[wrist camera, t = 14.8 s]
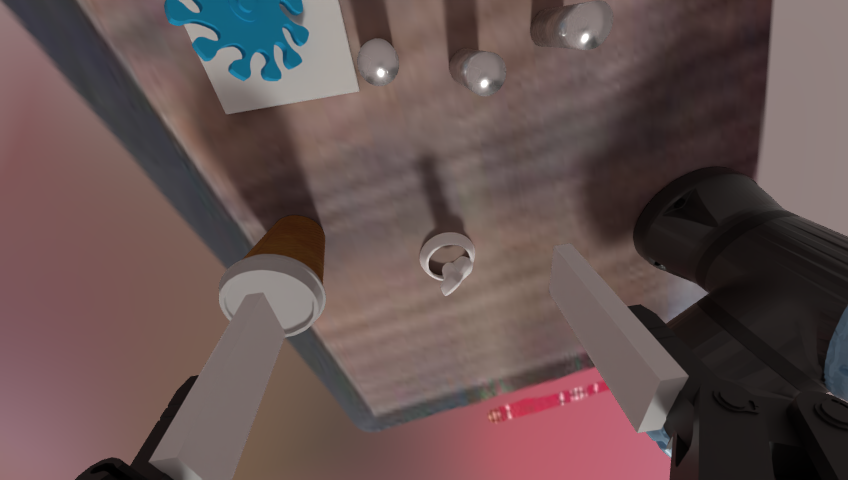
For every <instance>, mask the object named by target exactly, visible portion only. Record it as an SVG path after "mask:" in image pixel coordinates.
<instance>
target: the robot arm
mask: <svg viewBox="0 0 848 480" xmlns="http://www.w3.org/2000/svg"><path fill="white" fill-rule="evenodd" d="M634 245H635V248H636V250H637V252H638V253H639V254H640V256H642V257H643V258H644V259H645V260H646V261H648V262H649V263H650V264H651V265H653V266H654V267H656V268H658V269H661V270H664V271H666V272H668V273H671V274H673V275H676V276H678V277H681V278H684V279H686V280H689V281H691V282H694V283H696V284H698V285H699V286H700V287H702V288H703V289H704V290H705V291H707V292H708V293H709V294H707V295H706V296H705V297H703V298H702V299H700V300H699V301H698V302H696V303H694V304H693V305H692V306H690V307H689V308H687V309H686V310H685V311H683V312H682V313H680V314H679V315H678V316H676V317H675V318H673V319H672V320H671V321H669V322H668V323H666V324H665V323H664V322H663V321H662V320H661V319H660V318H659V317H658V316H657V314H655V313H654V312H652V311H650V310H649V309H647V308H645V307H644V306H642V305H634V306H626V305H625V304H624V303H623V301H622V300H621V299H620V298H619V297H618V296H617V295H616V294H615V292H614V291H613V290H612V289H611V288H610V287H609V286H608V285H607V283H606V282H605V281H604V280H603V279H602V278H601V277H600V276H599V274H598V273H597V272H596V271H595V270H594V269H593V268H592V267H591V265H590V264H589V263H588V262H587V261H586V260H585V259H584V258H583V256H582V255H581V254H580V253H579V252H578V251H577V250H576V249H575V247H574V246H573V245H572V244H571V243H569V244H563V245H557V246H554V249H553V258H552V268H551V277H550V287H549V293H550V295H551V296H552V298H553V299H554V301H555V303H556V304H557V306H558V307H559V309H560V311H561V312H562V314H563V315H564V317H565V319H566V320H567V322H568V323H569V325H570V327H571V328H572V330H573V331H574V333H575V335H576V336H577V338H578V339H579V341H580V343H581V344H582V346H583V347H584V349H585V351H586V352H587V354H588V355H589V357H590V359H591V360H592V362H593V363H594V365H595V366H596V368H597V370H598V371H599V373H600V374H601V376H602V378H603V379H604V381H605V382H606V384H607V386H608V387H609V389H610V390H611V392H612V394H613V395H614V397H615V398H616V400H617V402H618V403H619V405H620V406H621V408H622V410H623V411H624V413H625V414H626V416H627V418H628V419H629V421H630V422H631V424H632V426H633V427H634V429H635V430H636V432H637V433H640V432H646V433H647V434H648V435H649V437H650V438H651V439H652V440H654V441H656V442H657V444H658V446H659V447H660V449H661V450H662V451H663V452H664V453H665V454H667V455H668V456H669V457H671V468H670V480H848V403H847V402H845V401H843V400H841V399H844V400H846V401H848V237H847V236H845V235H842V234H840V233H838V232H835V231H833V230H831V229H828V228H826V227H824V226H821V225H819V224H817V223H814V222H812V221H810V220H807V219H805V218H802V217H800V216H798V215H795V214H793V213H791V212H789V211H787V210H785V209H783V208H782V207H781V206H780V205H779V204H778V203H777V202H776V201H775V200H774V199H772V197H771V196H769V195H768V194H767V193H766V192H765V191H764V190H762V188H760V187H759V186H758V185H757V183H756V182H755V181H754V180H753V179H751V178H750V177H748V176H746V175H744V174H742V173H739V172H736V171H734V170H731V169H728V168H724V167H709V168H704V169H700V170H697V171H694V172H691V173H689V174H687V175H684V176H683V177H681V178H679V179H677V180H675V181H674V182H672V183H671V184H669V185H668V186H667V187H665V188H664V189H663V190H662V191H661V192H659V193H658V194H657V195H656V196H655V197H654V198H653V199H652V200H651V202H650V203H649V204H648V205H647V207H646V208H645V209H644V211H643V212H642V214H641V216H640V218H639V220H638V222H637V224H636V227H635V231H634ZM285 335H286V334H285V332H284V330H283V328H282V326H281V324H280V322H279V321H278V319H277V317H276V315H275V313H274V311H273V310H272V308H271V306H270V304H269V302H268V300H267V299H266V297H265V295H264V293H263V292H261V293H254V294H248V295H246V296H245V298H244V299H243V301H242V303H241V304H240V306H239V308H238V309H237V311H236V313H235V315H234V316H233V318H232V320H231V321H230V323H229V325H228V327H227V328H226V330H225V332H224V333H223V335H222V337H221V339H220V340H219V342H218V344H217V345H216V347H215V349H214V351H213V352H212V354H211V356H210V357H209V359H208V361H207V363H206V364H205V366H204V368H203V369H202V371H201V373H200V375H197V376H191V377H190V378H189V379H188V380H187V381H186V382H185V383H184V384H183V385H182V386H181V387H180V388H179V389H178V390H177V391H176V393H175V395H174V396H173V398H172V399H171V401H170V402H169V404H168V408H166V409H165V411H164V412H163V414H162V415H161V417H160V421H158V422H157V423H156V425H155V427H154V428H153V430H152V431H151V433H150V435H149V436H148V438H147V439H146V441H145V443H144V444H143V446H142V447H141V449H140V451H139V452H138V454H137V456H136V457H135V459H134V460H133V462H132V464H131V465H130V466H129V465H127V464H126V463H124V462H123V461H122V460H120V459H117V458H108V459H104V460H101V461H100V462H98V463H96V464H94V465H92V466H90V467H89V468H88V469H87V470H85V471H84V472H83V473H82V474H80V475H79V476H78V477H77V478H76V479H75V480H232V478H233V475H234V473H235V470H236V467H237V464H238V462H239V459H240V456H241V454H242V451H243V448H244V445H245V443H246V440H247V437H248V435H249V432H250V429H251V427H252V424H253V421H254V418H255V416H256V413H257V410H258V407H259V405H260V402H261V399H262V397H263V394H264V391H265V389H266V386H267V383H268V381H269V378H270V375H271V372H272V370H273V367H274V364H275V362H276V359H277V356H278V353H279V351H280V348H281V345H282V342H283V340H284V337H285ZM827 392H831V393H832V394H833V395H834V396H832V395H829V394H826V393H827ZM839 398H841V399H839Z"/></svg>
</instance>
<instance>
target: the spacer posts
mask: <svg viewBox="0 0 848 480" xmlns="http://www.w3.org/2000/svg"><path fill="white" fill-rule="evenodd" d="M612 24H613V12H612V9H611V7H610V6H609V5H608V4H607V3H606V2H604V1H600V0H598V1H591V2H585V3H579V4H573V5H566V6H560V7H554V8H548V9H544V10H542V11H541V12H539V13H538V14H537V15H536V16H535V18H534V20H533V22H532V25H531V30H530V33H531V38H532V40H533V42H534V43H535V44H536V45H538V46H541V47H555V48H569V49H583V50H590V49H593V48H596V47H597V46H599V45H600V44H601V43H602V42H603V41H604V40H605V39H606V38H607V36H608V35H609V33H610V30H611V28H612ZM357 64H358V69H359V71H360V73H361V75H362V77H363V78H364V79H365V80H366V81H367V82H369V83H370V84H372V85H376V86H384V85H387V84H389V83H390V82H391V81H392V80H393V79H394V78H395V77H396V75H397V72H398V69H399V59H398V56H397V53H396V51H395V49H394V48H393V47H392V45H391V44H390V43H389V42H388V41H386V40H384V39H382V38H375V39H372V40H369V41H367V42H366V43H365V44H363V46H362V47H361V48H360V50H359V53H358V57H357ZM449 70H450V74H451V76H452V78H453V79H454V80H455V81H457V82H458V83H460V84H461V85H463V86H465V87H466V88H468V89H469V90H471V91H473V92H474V93H476V94H478V95H480V96H489V95H492V94H494V93H495V92H497V91H498V90H499V89H500V88H501V86H502V85H503V83H504V80H505V77H506V66H505V63H504V61H503V59H502V58H501V57H500V56H499V55H497V54H496V53H492V52H486V51H480V50H474V49H467V48H464V49H460V50H458V51H457V52H456V53H455V54H454V55H453V56H452V58H451V60H450V64H449Z"/></svg>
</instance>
